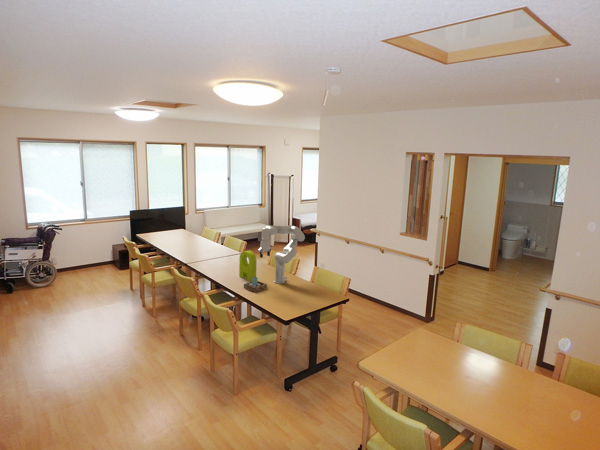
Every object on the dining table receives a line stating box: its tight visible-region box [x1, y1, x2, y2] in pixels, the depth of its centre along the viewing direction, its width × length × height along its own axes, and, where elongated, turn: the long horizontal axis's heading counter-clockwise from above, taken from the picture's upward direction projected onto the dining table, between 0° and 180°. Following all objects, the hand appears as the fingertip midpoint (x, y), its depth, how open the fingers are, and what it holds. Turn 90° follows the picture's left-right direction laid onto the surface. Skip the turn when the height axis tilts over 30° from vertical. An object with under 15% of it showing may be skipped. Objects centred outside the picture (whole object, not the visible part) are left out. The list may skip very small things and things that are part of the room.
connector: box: [251, 276, 259, 286], centre depth 371 cm, size 4×4×11 cm
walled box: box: [243, 280, 268, 293], centre depth 371 cm, size 16×16×4 cm
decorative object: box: [238, 250, 258, 282], centre depth 397 cm, size 20×7×30 cm, turn 47°
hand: (264, 256), depth 375 cm, fingers open, 9 cm apart
